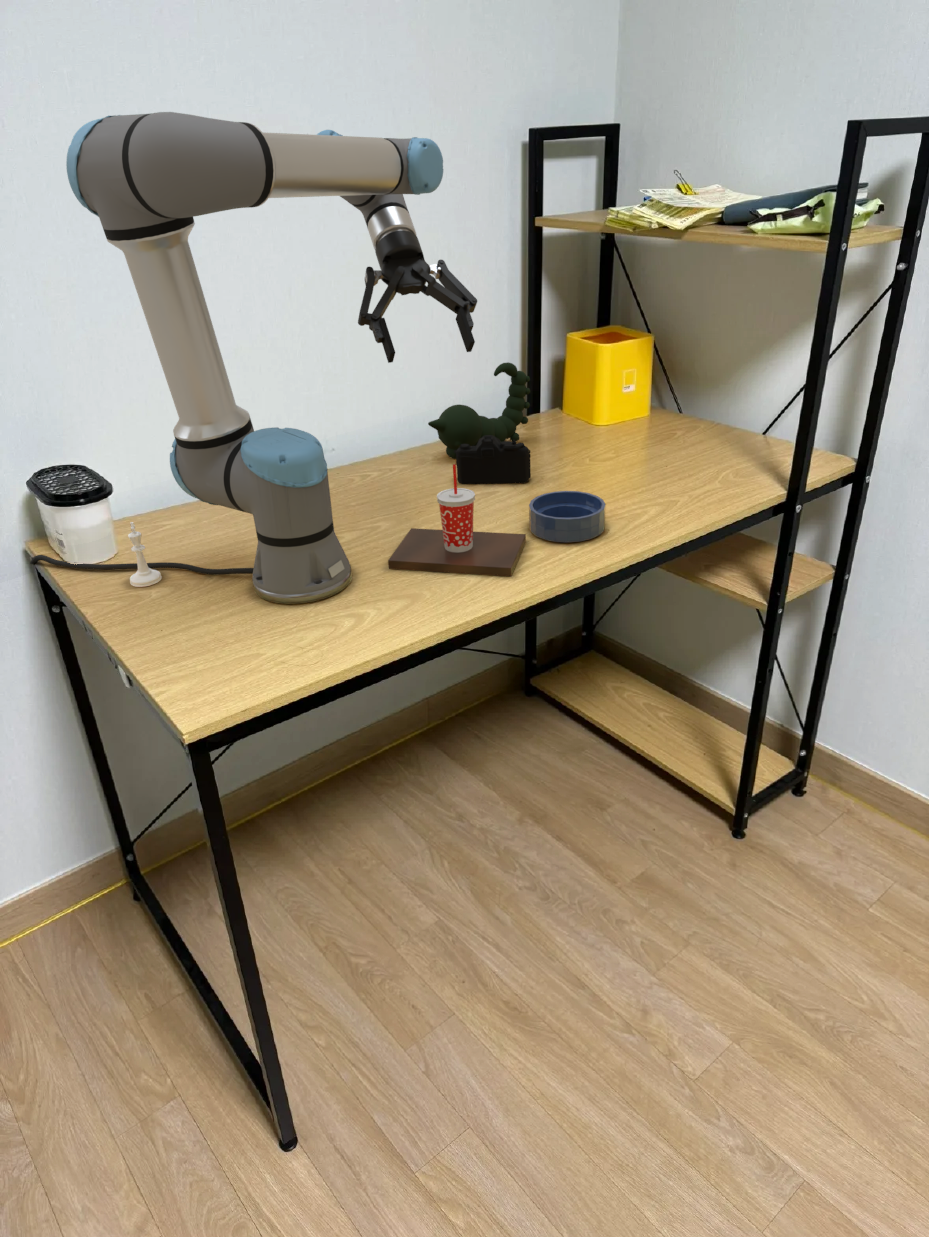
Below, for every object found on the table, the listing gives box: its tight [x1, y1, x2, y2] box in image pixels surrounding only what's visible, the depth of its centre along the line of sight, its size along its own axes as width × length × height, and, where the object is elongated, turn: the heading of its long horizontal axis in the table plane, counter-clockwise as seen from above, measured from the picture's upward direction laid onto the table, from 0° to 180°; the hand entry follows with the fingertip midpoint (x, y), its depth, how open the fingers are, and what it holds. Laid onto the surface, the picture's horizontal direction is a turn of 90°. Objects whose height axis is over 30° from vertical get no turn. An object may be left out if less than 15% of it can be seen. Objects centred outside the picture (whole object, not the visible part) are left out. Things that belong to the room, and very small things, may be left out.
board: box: [387, 527, 527, 577], centre depth 143 cm, size 20×13×2 cm, turn 77°
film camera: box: [454, 435, 532, 485], centre depth 173 cm, size 15×10×9 cm, turn 84°
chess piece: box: [127, 521, 163, 588], centre depth 138 cm, size 5×5×10 cm
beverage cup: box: [436, 463, 476, 553], centre depth 139 cm, size 6×6×14 cm
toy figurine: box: [427, 362, 531, 460], centre depth 184 cm, size 9×19×25 cm
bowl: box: [528, 490, 607, 543], centre depth 149 cm, size 13×13×4 cm
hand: (432, 352), depth 141 cm, fingers open, 13 cm apart
